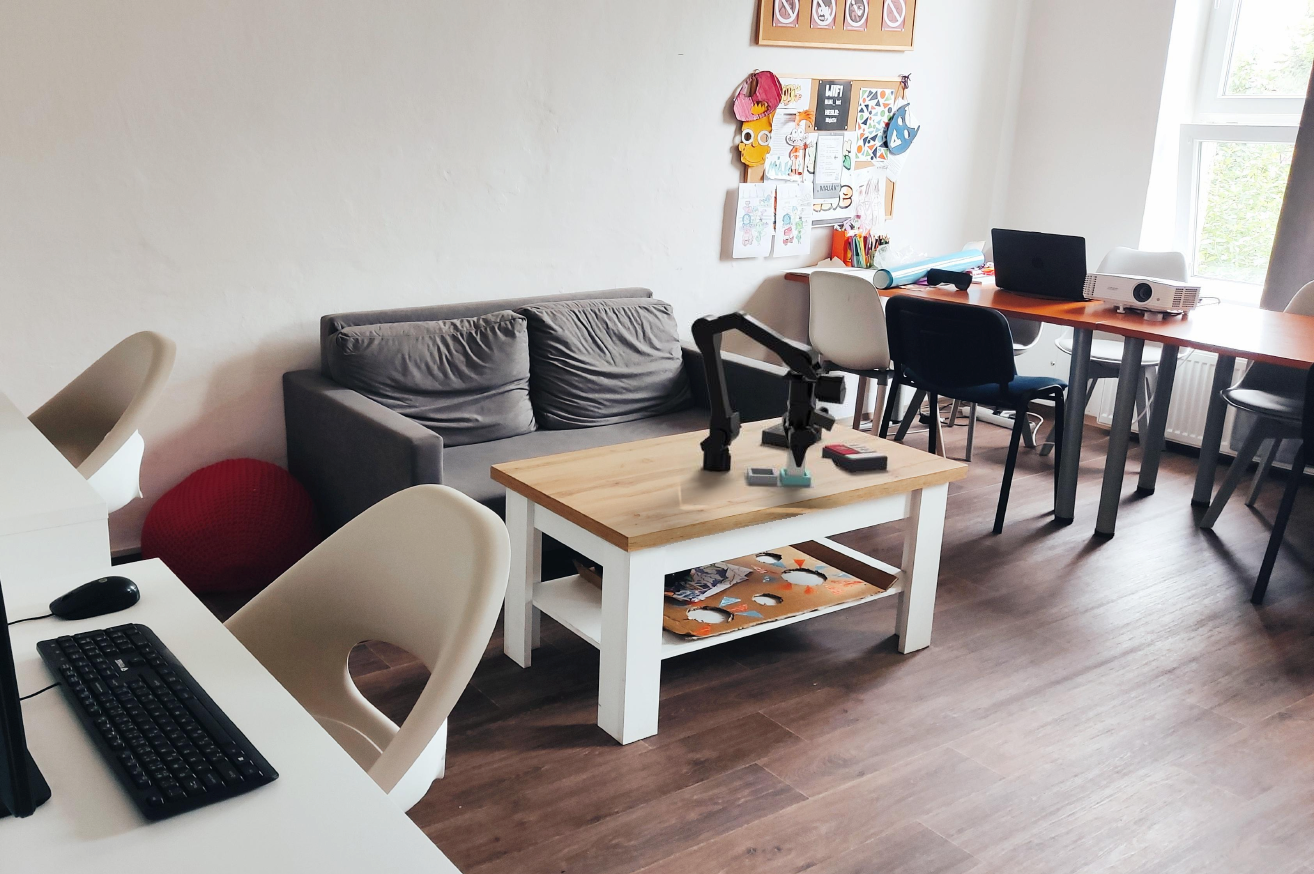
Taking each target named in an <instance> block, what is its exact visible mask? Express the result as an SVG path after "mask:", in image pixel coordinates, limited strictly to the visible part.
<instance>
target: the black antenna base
mask: <svg viewBox="0 0 1314 874" xmlns="http://www.w3.org/2000/svg"><path fill="white" fill-rule="evenodd" d="M785 425H786V424H785ZM807 428H812V429H813V430H814V431H815V433H816V435H817V439H816V441H819V440H820V439H822V436H823V428H821V427H818V426H816V425H814V427H807ZM760 443H761V444H765V445H768V446H774V447H778V448H784V449H787V450H790V448H789V445H788V442H787V439H786V436H785V433H784V430H783V425H782V422H780V423H778V424H775V425H772V426H769V427H767V428H765V429H762V431H761V441H760Z"/></svg>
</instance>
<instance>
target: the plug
mask: <svg viewBox="0 0 1314 874" xmlns="http://www.w3.org/2000/svg"><path fill="white" fill-rule="evenodd" d="M806 458H807V456H806V454H805V457H804V460H803V463H802V466H801V467H796V464H795V461H794V457H793V454H792V451H790V450H786V464H785V465H786V466H785V468H786V476H804V474H805V469H806Z"/></svg>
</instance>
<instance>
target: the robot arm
mask: <svg viewBox="0 0 1314 874" xmlns="http://www.w3.org/2000/svg"><path fill="white" fill-rule="evenodd" d="M731 330H737V331H739V332H740V333H741V334H744V335H745V336H747V337H749V338H750V339H752V340H753V341H755V342H756V343H759V344H760V345H762V346H763V347H765V348H767V349H768V350H770V351H771V352H772V353H774V354H776V355H777V356H778V357H779V358H780V360H781V361H782V362H783V363H784V365H786V366H787V367H788V368H789V369H788V370H787V372H786V373H785V374H783V376H781V380H784V381H789V387H788V388H789V389H788V390H789V391H788V400H787V401H786V403H787V404H786V405H787V411H786V412H785V413H783V415H781V423H782V425H783V430H784V433H785V436H786V439H787V442H788V445H789V448H790V449H789V451H792V454H793V457H794V461H795V464H796V467H801V466H802V463H803V460H804V457H805V455H806V454H807V451H808V448H810V447H811V446H814V445H815V444H816V443H817V440H816V439H817V435H816V433H815V431H814V430H813V429H812V428H807V427H814V425H816V426H818V427H821V428H822V430H823V429H824V430H825V431H827V432H831V431H832V430H833V426H835V423H836V420H837V419H836V418H835V416H834V415H832V414H831V413H830V412H829V411H830V410H829V409H828V407H827V406H824V405H821V406H820V407H819V408H816V407H815V405H814V403H813V401H814V400H813V399H814V398H815V399H817V401H818V402H820V403H827V404H834V405H836V404H837V405H844V402H845V400H846V397H847V396H846V395H847V387H846V385H847V384H846V381H845V379H846V376H845V375H842V374H826V371H825V368H824V367H823V365H822V364H821V362H820V360H819V355H818V352H817V350H816V349H815V348H814V347H812V346H810V345H809V344H805V343H802V342H800V341H797V340H793V339H789V338H787V337H785V336H783V335H781V334H780V333H779V332H778V331H775V330H774V329H772V328H771V327H769V326H767V325H766V324H764V323H763V322H761V321H759V320H758V319H757V318H754V317H753V316H751V315H749V314H748V313H747V312H746V311H745V310H742V309H741V310H740V309H739V310H737V311H733V312H731V313H727V314H722V315H718V316H716V315H713V314H707V315H705V316H701V317H698V318H697V319H696V320H694V321H693V323H692V324H691V326H690V331H691V335H692V338H693V341H694V343H695V345H696V347H697V349H698V351H699V352H700V354H701V358H702V362H703V363H702V364H703V368H704V374H705V380H706V386H707V393H708V398H709V403H710V408H711V410H710V411H711V412H710V418H709V426H708V427H709V430H708V431H709V432H708V436H707V437H705V439H703V440H702V441H700V443H699V445H700V448H701V451H702V470H703V471H707V472H711V473H713V472H714V473H722V472H729V471H731V468H732V467H731V465H732V453H730V448H729V447H730V446H731V445H732V443H733V442H734V441H735V440H736V439H738V437H739V435H740V433H741V431H740V430H741V429H742V428H743V426H742V424H741V421H740V412H738V411H737V412H733V410H732V408H731V406H730V401H729V396H728V395H729V394H728V390H727V384H726V383H727V382H726V378H725V371H724V367H723V366H724V365H723V360H722V356H721V355H722V354H721V353H722V352H721V347H722V341H723V333H725V332H727V331H731ZM785 424H786V425H785Z"/></svg>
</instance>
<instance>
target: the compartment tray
mask: <svg viewBox="0 0 1314 874" xmlns="http://www.w3.org/2000/svg"><path fill="white" fill-rule="evenodd" d="M744 479H745V483H746V486H749V487H751V486H752V487H754V486H756V487H778V488H779V487H781V488H783V487H784V488H785V487H787V488H808V489H809V488H814V485H813V483H812V476H811V473H810V472H809V470H808V469H807V468H805V474H804V476H786V467H785V468H784V467H783V468H781V467H779V473H777V470H776V468H775V467H760V466H759V467H757V466H756V467H752V466H751V467H750V466H747V468H746V472H744Z"/></svg>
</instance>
